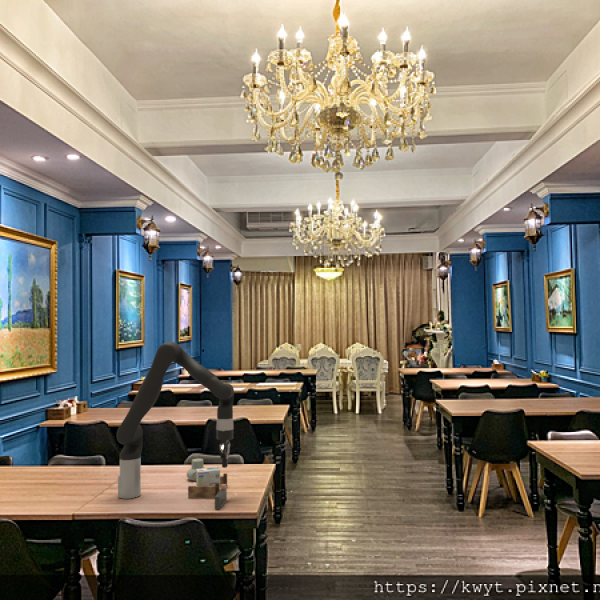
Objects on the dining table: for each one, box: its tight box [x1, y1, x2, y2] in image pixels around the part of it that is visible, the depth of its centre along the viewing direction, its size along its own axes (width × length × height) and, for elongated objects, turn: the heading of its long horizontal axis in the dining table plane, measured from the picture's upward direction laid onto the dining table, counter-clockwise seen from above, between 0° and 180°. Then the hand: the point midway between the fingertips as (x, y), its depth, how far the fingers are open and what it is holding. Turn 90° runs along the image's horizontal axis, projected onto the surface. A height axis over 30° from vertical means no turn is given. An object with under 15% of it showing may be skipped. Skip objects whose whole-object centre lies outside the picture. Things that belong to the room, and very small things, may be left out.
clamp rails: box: [187, 473, 228, 499], centre depth 252 cm, size 14×18×6 cm
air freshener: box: [186, 458, 205, 482], centre depth 275 cm, size 11×8×10 cm
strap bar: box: [214, 484, 228, 510], centre depth 234 cm, size 2×14×6 cm, turn 176°
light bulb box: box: [195, 466, 221, 490], centre depth 252 cm, size 11×7×11 cm, turn 108°
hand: (224, 467), depth 243 cm, fingers closed
